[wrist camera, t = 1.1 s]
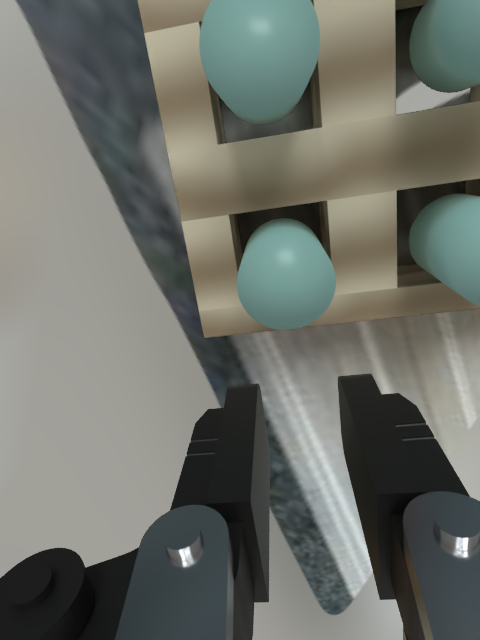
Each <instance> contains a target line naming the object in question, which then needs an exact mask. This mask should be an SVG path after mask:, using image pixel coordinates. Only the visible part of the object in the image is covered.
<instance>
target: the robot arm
mask: <svg viewBox="0 0 480 640" xmlns="http://www.w3.org/2000/svg"><path fill="white" fill-rule="evenodd" d="M338 391H339V406H340V420H341V434H342V442H343V449H344V455H345V460H346V464H347V468H348V472H349V476H350V480H351V484H352V488H353V492H354V496H355V500H356V504H357V508H358V512H359V516H360V520H361V525H362V529H363V533H364V537H365V541H366V545H367V549H368V553H369V557H370V561H371V565H372V569H373V573H374V577H375V581H376V585H377V589H378V593H379V597H380V600H384V599H385V600H386V599H396V601H397V604H398V608H399V611H400V615H401V618H402V622H403V640H480V501H478V500H476V499H473V498H471V497H470V496H469V494H468V493H467V491H466V489H465V487H464V486H463V484H462V482H461V481H460V479H459V477H458V476H457V474H456V472H455V471H454V469H453V467H452V465H451V464H450V462H449V460H448V459H447V457H446V455H445V454H444V452H443V450H442V449H441V447H440V445H439V443H438V442H437V440H436V439H434V435H433V433H432V432H431V430H430V428H429V427H428V425H426V421H425V420H424V418H423V416H422V415H421V413H420V411H419V410H418V408H417V406H416V405H414V404H413V403H412V402H410V401H409V400H407V399H406V398H405V397H403V396H402V395H400V394H399V393H395V394H384V395H381V393H380V391H379V389H378V387H377V384H376V382H375V380H374V378H373V376H372V374H361V375H350V376H339V377H338ZM269 493H270V458H269V445H268V437H267V430H266V423H265V417H264V410H263V403H262V397H261V390H260V386H259V384H250V385H239V386H229V387H228V389H227V394H226V400H225V405H224V408H217V409H208V410H207V411H206V412H205V414H204V415H203V416H202V417H201V418H200V419H199V420H198V421H197V422H196V424H195V427H194V430H193V434H192V437H191V443H190V444H189V447H188V451H187V457H186V458H185V461H184V465H183V468H182V472H181V475H180V478H179V482H178V485H177V489H176V492H175V496H174V499H173V502H172V506H171V509H170V511H169V512H167V513H166V514H164V515H162V516H161V517H160V518H158V519H157V520H156V521H155V522H154V523H153V524H152V525H151V526H150V527H149V529H148V530H147V531H146V533H145V534H144V536H143V538H142V540H141V543H140V546H139V548H137V549H135V550H133V551H131V552H129V553H127V554H124V555H121V556H118V557H116V558H113V559H110V560H107V561H104V562H101V563H98V564H95V565H92V566H89V567H87V568H85V566H84V563H83V561H82V559H81V558H80V556H79V555H78V554H77V553H76V552H74V551H72V550H70V549H66V548H54V549H49V550H44V551H41V552H39V553H36V554H34V555H32V556H30V557H28V558H26V559H25V560H23V561H22V562H20V563H18V564H17V565H16V566H14V567H13V568H12V569H11V570H10V571H8V572H7V573H6V574H5V575H4V576H2V577H1V578H0V640H252V636H253V616H254V602H269Z"/></svg>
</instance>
